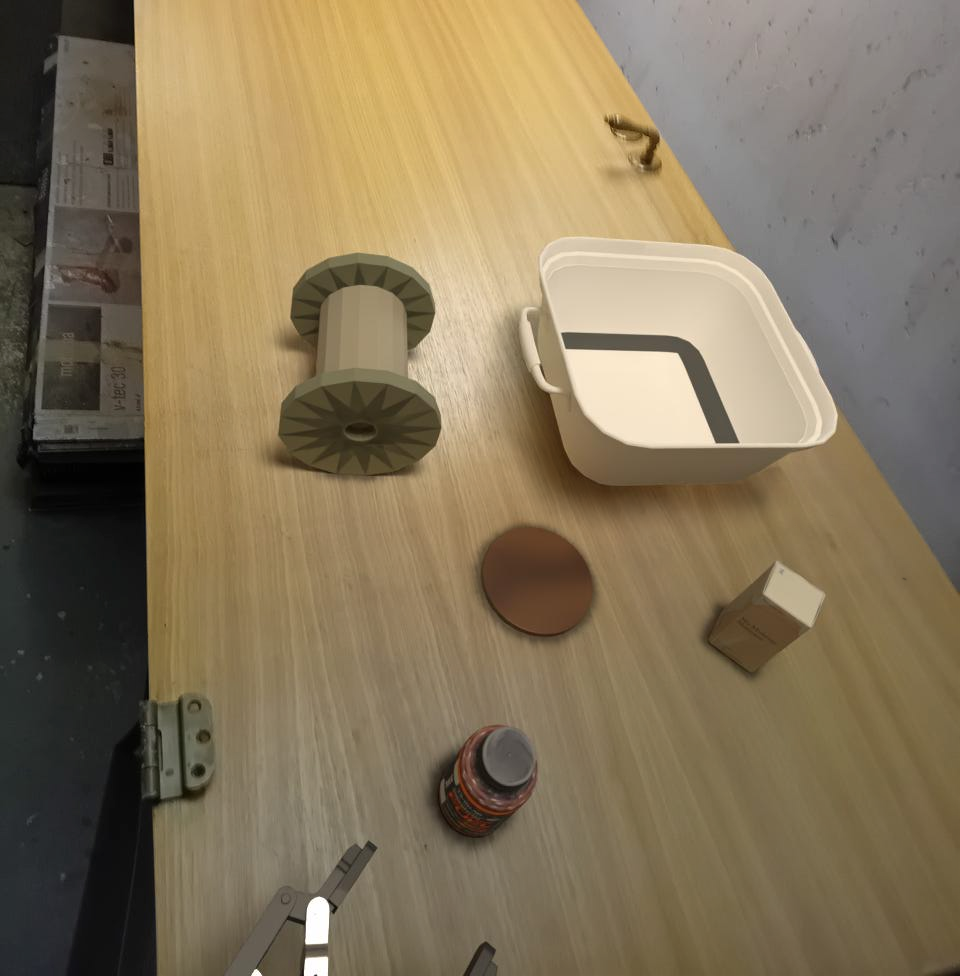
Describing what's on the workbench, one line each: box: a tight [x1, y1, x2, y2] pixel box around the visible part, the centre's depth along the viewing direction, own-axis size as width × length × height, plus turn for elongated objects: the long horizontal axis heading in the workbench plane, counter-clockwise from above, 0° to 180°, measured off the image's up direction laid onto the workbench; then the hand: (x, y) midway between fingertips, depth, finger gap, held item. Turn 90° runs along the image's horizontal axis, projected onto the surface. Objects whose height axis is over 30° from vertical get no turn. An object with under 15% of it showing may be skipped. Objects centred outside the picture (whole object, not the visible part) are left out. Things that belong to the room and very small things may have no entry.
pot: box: [517, 235, 839, 487], centre depth 94 cm, size 34×29×15 cm
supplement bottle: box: [438, 724, 539, 837], centre depth 64 cm, size 6×6×11 cm
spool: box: [277, 252, 443, 477], centre depth 85 cm, size 16×15×15 cm
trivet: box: [481, 526, 594, 637], centre depth 82 cm, size 11×11×1 cm
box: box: [708, 560, 826, 674], centre depth 79 cm, size 5×4×11 cm
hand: (428, 895), depth 49 cm, fingers open, 8 cm apart
